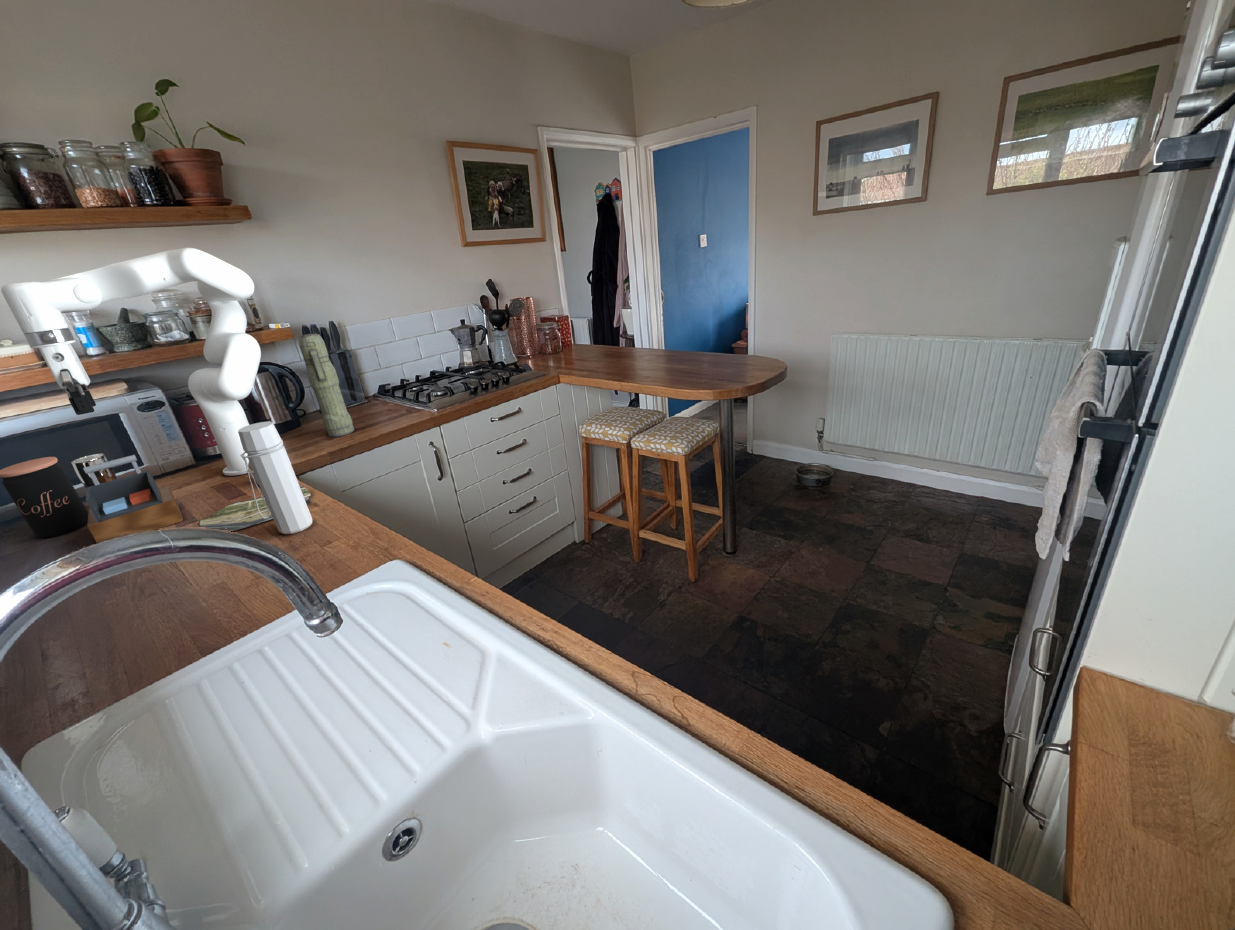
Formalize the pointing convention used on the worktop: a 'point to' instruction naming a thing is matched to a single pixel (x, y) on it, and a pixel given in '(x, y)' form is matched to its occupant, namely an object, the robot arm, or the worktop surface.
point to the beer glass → (101, 475)
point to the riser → (138, 519)
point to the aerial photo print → (242, 514)
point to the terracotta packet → (140, 496)
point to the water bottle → (275, 477)
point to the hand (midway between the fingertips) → (87, 410)
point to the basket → (119, 489)
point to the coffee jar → (45, 497)
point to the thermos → (325, 385)
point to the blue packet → (114, 505)
